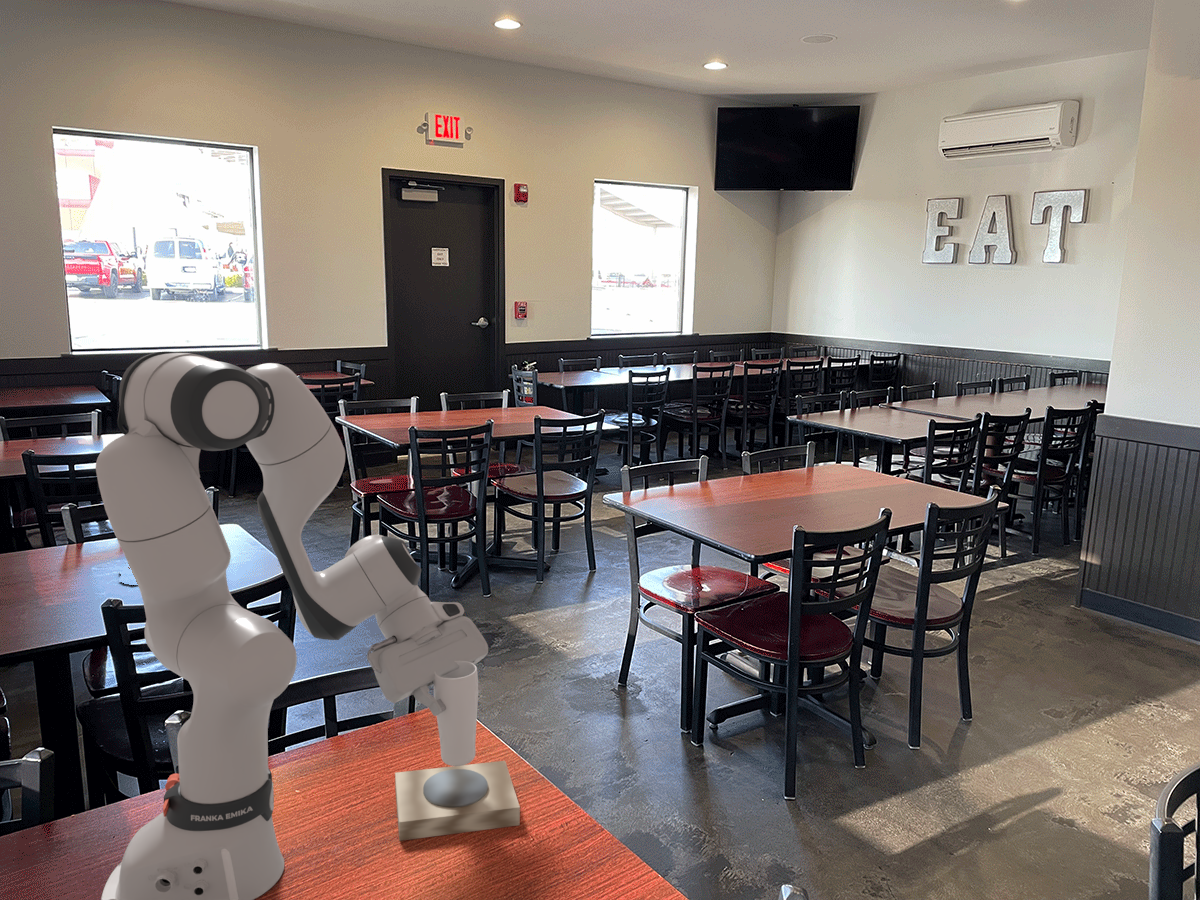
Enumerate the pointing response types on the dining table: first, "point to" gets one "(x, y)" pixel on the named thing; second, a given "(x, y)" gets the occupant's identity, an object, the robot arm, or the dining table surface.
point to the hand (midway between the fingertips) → (459, 702)
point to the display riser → (455, 800)
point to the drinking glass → (458, 713)
